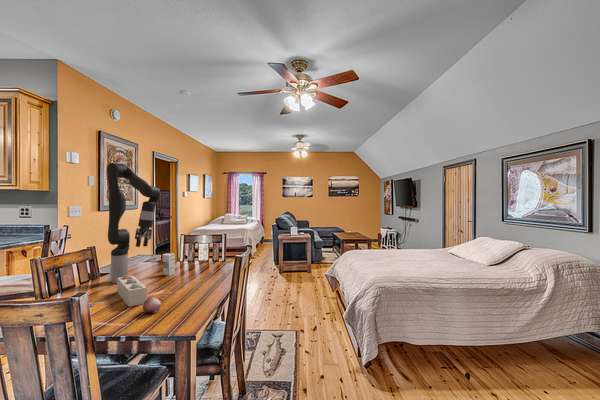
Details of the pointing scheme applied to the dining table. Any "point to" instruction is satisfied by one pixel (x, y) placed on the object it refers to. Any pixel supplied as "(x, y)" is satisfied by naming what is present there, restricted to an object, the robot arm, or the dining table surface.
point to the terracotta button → (126, 277)
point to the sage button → (136, 285)
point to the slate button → (130, 281)
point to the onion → (151, 305)
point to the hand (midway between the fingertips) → (141, 246)
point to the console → (131, 292)
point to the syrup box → (168, 264)
